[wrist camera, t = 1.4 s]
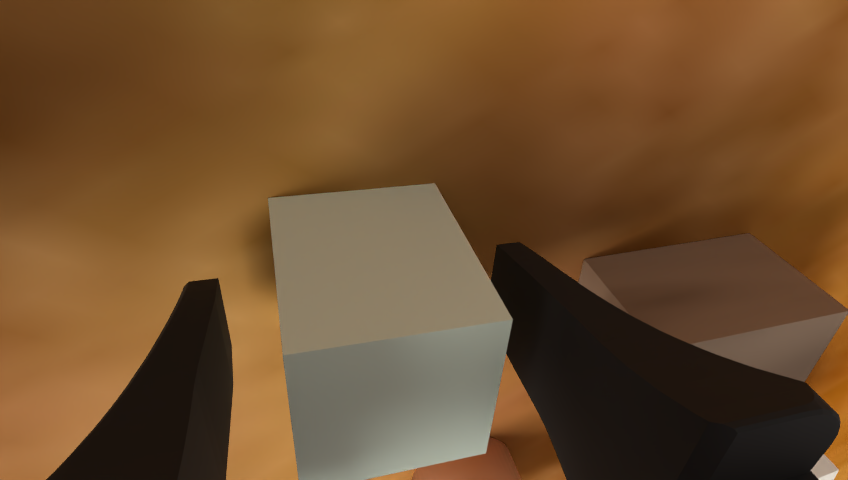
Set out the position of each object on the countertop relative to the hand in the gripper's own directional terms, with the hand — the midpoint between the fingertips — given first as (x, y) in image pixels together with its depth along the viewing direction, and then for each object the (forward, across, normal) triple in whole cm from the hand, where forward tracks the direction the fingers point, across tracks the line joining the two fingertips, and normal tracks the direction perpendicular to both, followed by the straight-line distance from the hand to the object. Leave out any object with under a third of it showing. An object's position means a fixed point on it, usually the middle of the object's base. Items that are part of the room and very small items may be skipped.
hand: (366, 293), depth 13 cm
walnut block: (+2, -10, +4) cm, 11 cm away
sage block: (+2, 0, 0) cm, 2 cm away
